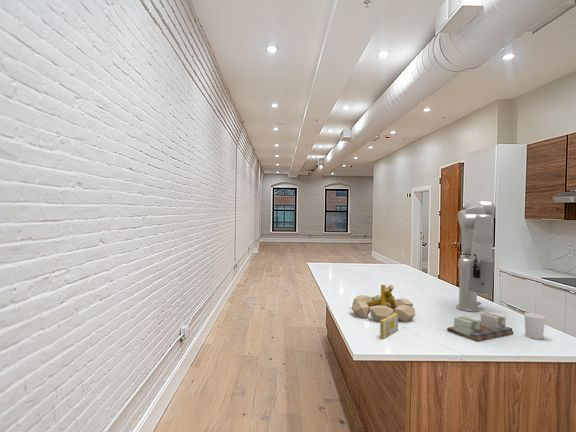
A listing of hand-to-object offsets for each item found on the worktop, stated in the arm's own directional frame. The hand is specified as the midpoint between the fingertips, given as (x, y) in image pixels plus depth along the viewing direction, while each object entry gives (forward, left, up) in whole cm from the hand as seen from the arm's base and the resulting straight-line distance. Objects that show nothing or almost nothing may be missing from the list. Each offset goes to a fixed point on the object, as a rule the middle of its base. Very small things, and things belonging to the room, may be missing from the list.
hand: (481, 277), depth 172 cm
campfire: (+23, -43, -27) cm, 56 cm away
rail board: (0, 0, -27) cm, 27 cm away
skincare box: (0, 0, -7) cm, 7 cm away
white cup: (-19, +14, -27) cm, 36 cm away
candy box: (+43, -15, -27) cm, 53 cm away
